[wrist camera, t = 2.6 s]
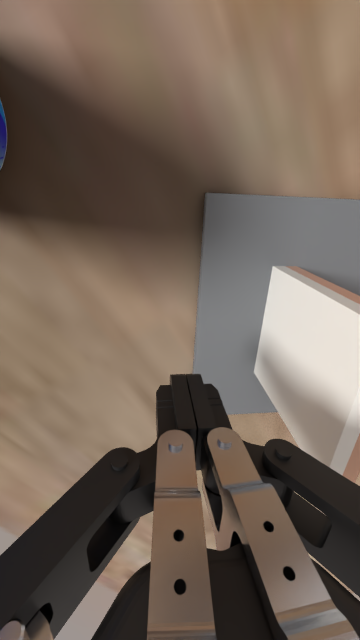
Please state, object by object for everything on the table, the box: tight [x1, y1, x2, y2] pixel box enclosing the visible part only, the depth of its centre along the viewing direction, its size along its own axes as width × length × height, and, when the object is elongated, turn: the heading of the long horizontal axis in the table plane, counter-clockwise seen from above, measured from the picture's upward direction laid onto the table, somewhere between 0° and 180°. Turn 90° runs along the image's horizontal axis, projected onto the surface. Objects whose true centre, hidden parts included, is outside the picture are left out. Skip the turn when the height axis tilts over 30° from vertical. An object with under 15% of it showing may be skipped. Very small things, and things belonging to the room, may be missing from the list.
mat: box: [193, 193, 360, 414], centre depth 22 cm, size 18×22×1 cm
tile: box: [254, 266, 360, 483], centre depth 17 cm, size 9×2×10 cm, turn 178°
